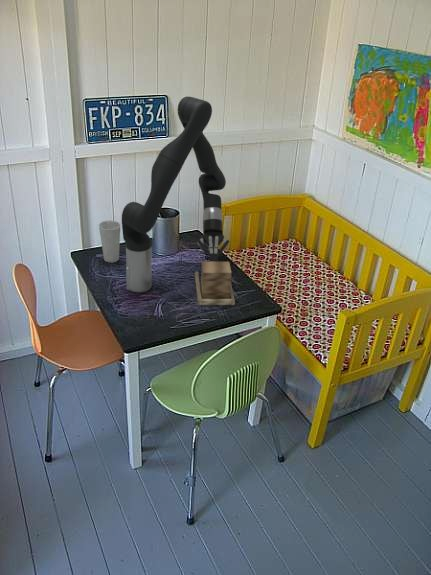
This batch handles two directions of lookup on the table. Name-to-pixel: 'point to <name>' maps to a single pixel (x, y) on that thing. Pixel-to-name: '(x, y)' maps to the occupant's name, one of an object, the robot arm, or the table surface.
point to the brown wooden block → (215, 280)
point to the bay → (212, 301)
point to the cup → (110, 240)
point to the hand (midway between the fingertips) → (213, 264)
